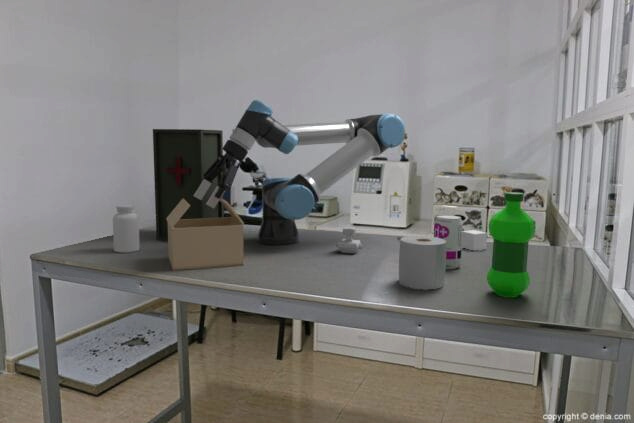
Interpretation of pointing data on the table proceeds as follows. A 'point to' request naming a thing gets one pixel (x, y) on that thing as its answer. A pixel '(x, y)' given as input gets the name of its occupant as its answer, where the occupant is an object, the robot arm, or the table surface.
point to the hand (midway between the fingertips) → (203, 202)
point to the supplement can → (450, 238)
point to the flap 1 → (177, 213)
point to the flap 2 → (231, 210)
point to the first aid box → (184, 173)
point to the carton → (205, 243)
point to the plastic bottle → (510, 247)
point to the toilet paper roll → (422, 262)
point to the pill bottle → (126, 229)
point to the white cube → (474, 240)
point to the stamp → (349, 241)
